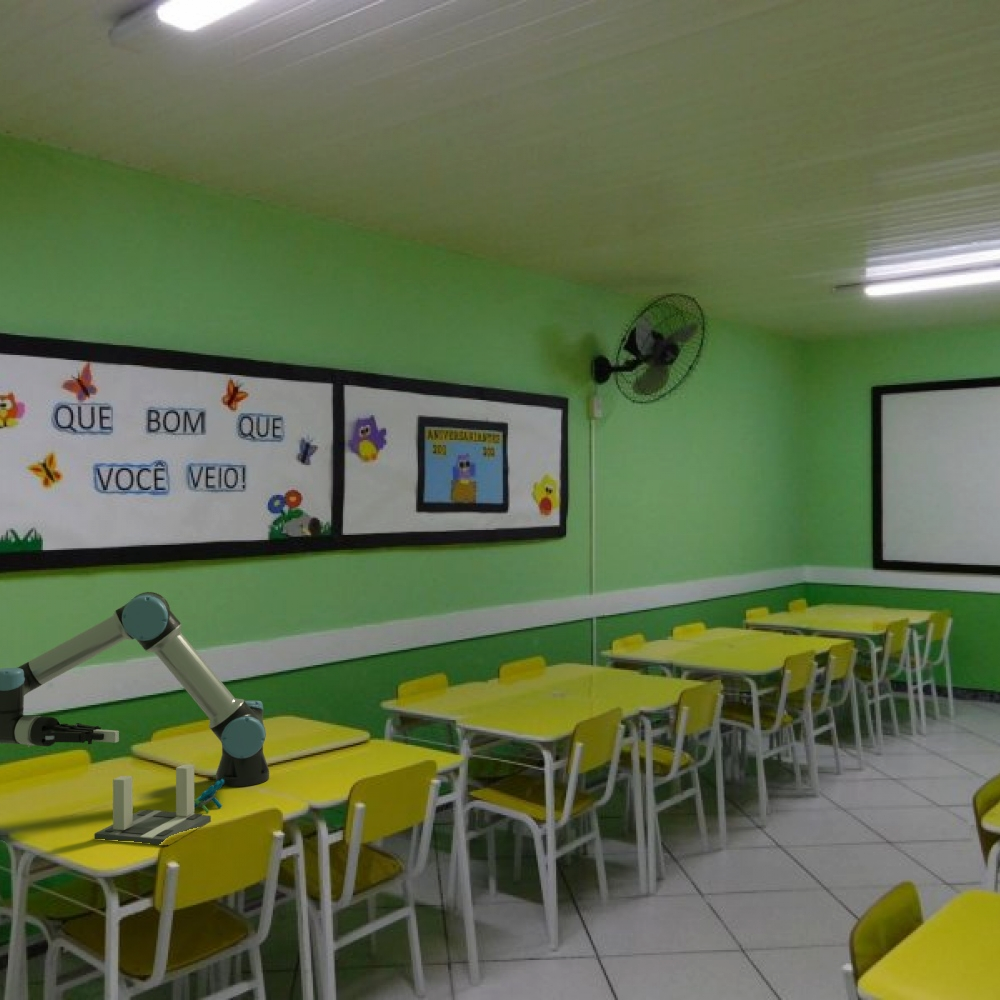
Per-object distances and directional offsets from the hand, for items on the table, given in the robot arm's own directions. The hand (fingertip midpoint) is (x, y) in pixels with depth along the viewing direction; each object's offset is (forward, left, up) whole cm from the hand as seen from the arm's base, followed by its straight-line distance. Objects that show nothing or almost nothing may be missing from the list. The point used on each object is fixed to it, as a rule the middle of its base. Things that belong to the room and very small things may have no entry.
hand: (116, 736), depth 255 cm
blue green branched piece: (-23, +2, -22) cm, 31 cm away
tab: (+1, +14, -19) cm, 24 cm away
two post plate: (-6, +13, -21) cm, 26 cm away
